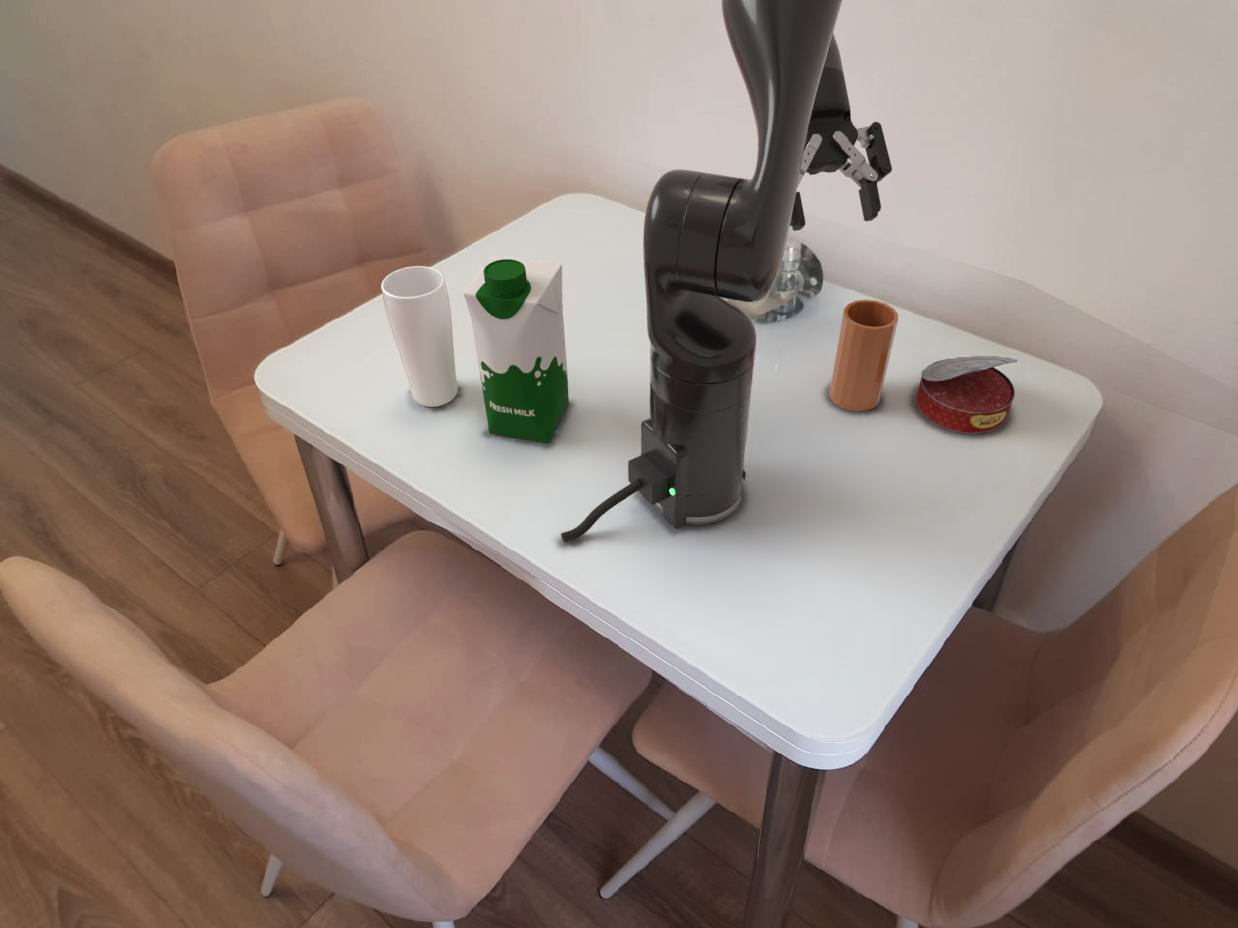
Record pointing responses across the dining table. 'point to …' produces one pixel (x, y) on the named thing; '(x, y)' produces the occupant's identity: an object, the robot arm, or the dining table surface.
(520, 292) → the milk carton
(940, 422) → the canned food
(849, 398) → the tumbler
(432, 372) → the drinking glass
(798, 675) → the dining table surface
